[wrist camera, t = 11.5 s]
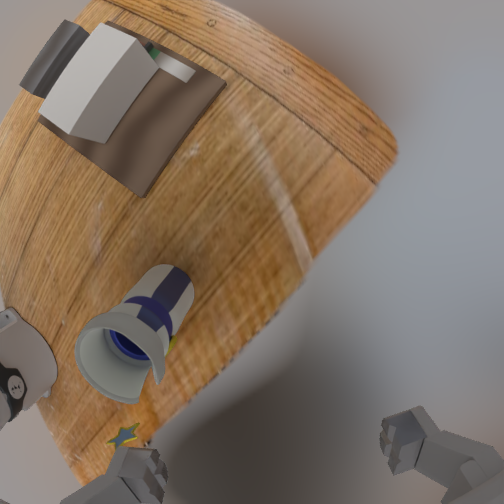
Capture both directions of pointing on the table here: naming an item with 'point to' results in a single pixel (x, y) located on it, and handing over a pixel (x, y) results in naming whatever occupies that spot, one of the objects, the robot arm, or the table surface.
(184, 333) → the table surface
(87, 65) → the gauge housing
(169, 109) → the gauge stand
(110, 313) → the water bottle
